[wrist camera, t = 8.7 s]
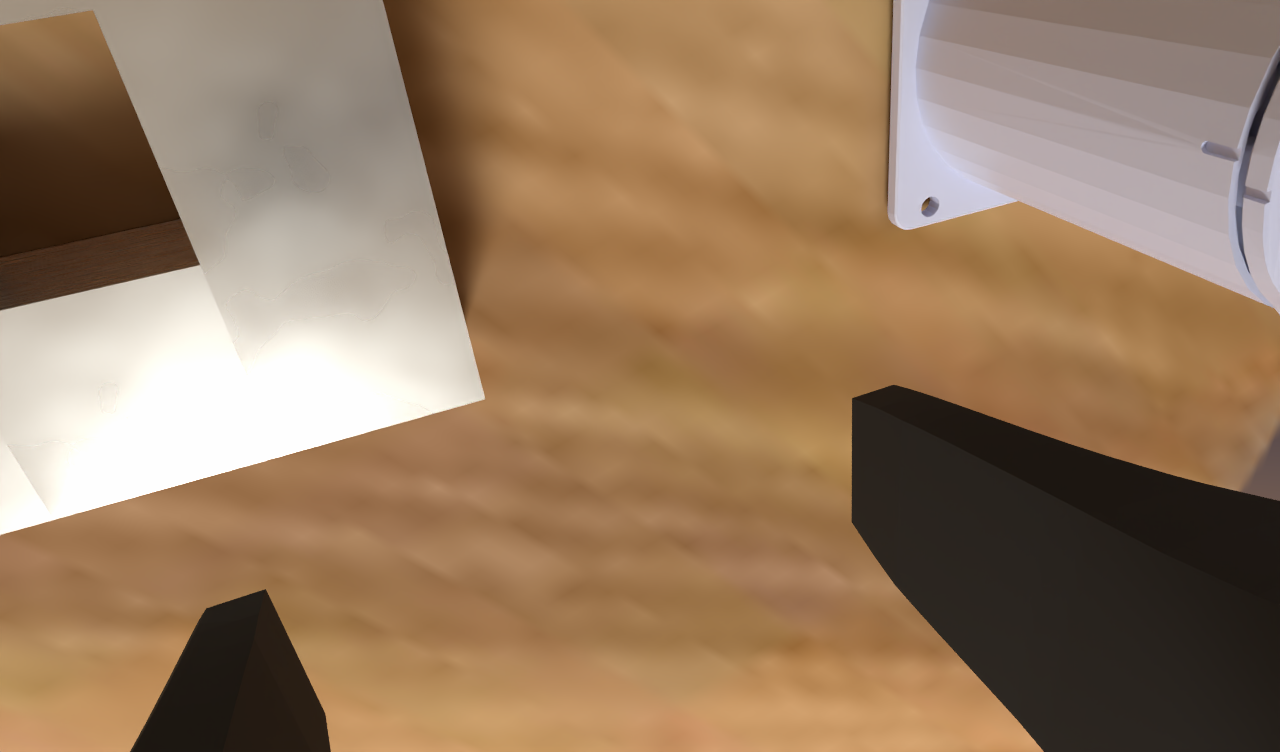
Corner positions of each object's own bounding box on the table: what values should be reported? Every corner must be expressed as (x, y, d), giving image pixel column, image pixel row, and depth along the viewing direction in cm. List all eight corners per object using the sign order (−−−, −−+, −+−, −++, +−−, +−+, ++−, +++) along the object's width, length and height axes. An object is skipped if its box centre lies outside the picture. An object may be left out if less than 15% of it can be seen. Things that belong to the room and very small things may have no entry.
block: (290, -323, 14) (286, -373, 11) (462, 336, 20) (485, 399, 17) (-672, -239, 11) (-954, -278, 9) (-129, 491, 17) (-201, 591, 15)
